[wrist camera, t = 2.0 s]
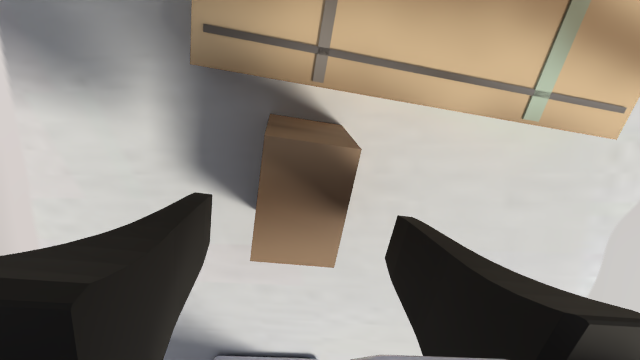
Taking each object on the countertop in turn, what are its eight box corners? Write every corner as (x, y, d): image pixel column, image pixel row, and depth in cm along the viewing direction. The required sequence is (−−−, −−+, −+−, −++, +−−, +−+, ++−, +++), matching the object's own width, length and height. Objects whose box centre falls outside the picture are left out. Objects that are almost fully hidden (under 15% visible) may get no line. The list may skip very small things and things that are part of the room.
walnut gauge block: (322, 217, 19) (334, 267, 15) (258, 210, 19) (250, 260, 14) (341, 124, 17) (361, 149, 13) (270, 113, 17) (264, 135, 12)
